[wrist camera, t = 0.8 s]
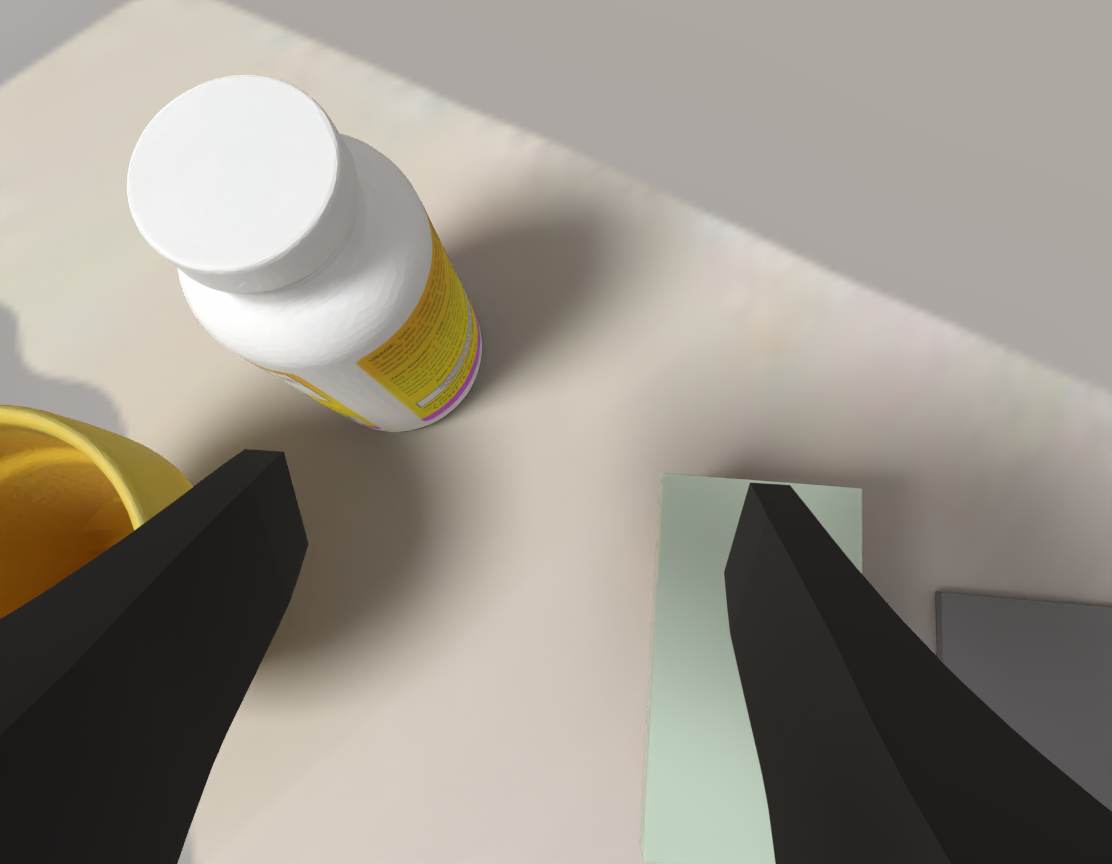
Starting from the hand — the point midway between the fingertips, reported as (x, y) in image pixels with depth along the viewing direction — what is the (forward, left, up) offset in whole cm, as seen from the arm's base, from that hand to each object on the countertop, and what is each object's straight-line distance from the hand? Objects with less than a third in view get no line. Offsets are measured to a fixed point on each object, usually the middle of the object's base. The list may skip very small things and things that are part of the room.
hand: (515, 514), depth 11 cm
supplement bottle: (+7, +7, -15) cm, 18 cm away
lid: (-3, -6, -11) cm, 13 cm away
